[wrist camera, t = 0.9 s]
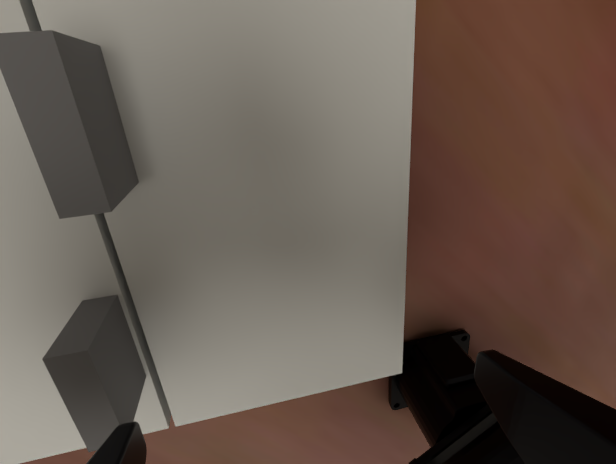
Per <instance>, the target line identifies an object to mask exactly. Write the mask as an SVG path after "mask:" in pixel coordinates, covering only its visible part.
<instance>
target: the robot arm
mask: <svg viewBox="0 0 616 464" xmlns="http://www.w3.org/2000/svg"><path fill="white" fill-rule="evenodd" d="M469 341H470V335H469V334H468V333H467V332H466V331H465V330H460V331H455V332H451V333H446V334H442V335H437V336H433V337H428V338H424V339H419V340H415V341H410V342H406V343H403V365H402V373H401V374H396V375H392V376H389V404H390V406H391V408H392V409H393V410H398V409H402V408H405V407H408V408H409V410H410V411H411V413H412V415H413V417H414V418H415V420H416V422H417V424H418V426H419V427H420V429H421V431H422V433H423V434H424V436H425V438H426V440H427V442H428V443H429V445H430V447H431V448H430V449H429V450H427V451H426V452H425V453H423V454H422V455H421V456H420V457H418V458H417V459H416V458H414V459H413V460H412V461H411V462H409V464H616V409H614V408H612V407H610V406H608V405H606V404H603V403H601V402H599V401H597V400H595V399H593V398H591V397H589V396H587V395H585V394H583V393H581V392H579V391H577V390H575V389H573V388H571V387H569V386H567V385H565V384H563V383H561V382H559V381H556V380H554V379H552V378H550V377H548V376H546V375H544V374H542V373H540V372H538V371H536V370H534V369H532V368H530V367H528V366H526V365H524V364H522V363H520V362H518V361H516V360H514V359H511V358H509V357H507V356H505V355H503V354H501V353H499V352H497V351H495V350H487V351H482V352H479V353H478V355H477V359H476V363H475V362H474V361H473V360H472V359H471V358H470V357H469V356H468V348H469ZM146 451H147V450H146V443H145V440H144V437H143V434H142V431H141V428H140V425H139V423H138V422H136V421H133V422H128V423H124V424H120V425H118V426H117V427H116V428H115V429H114V430H113V432H112V433H111V434H110V435H109V437H108V438H107V439H106V440H105V441H104V443H103V444H102V445H101V446H100V448H99V449H98V450H97V451H96V453H95V454H94V455H93V456H92V457H91V459H90V460H89V461H88V462H87V464H145V462H146Z"/></svg>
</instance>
